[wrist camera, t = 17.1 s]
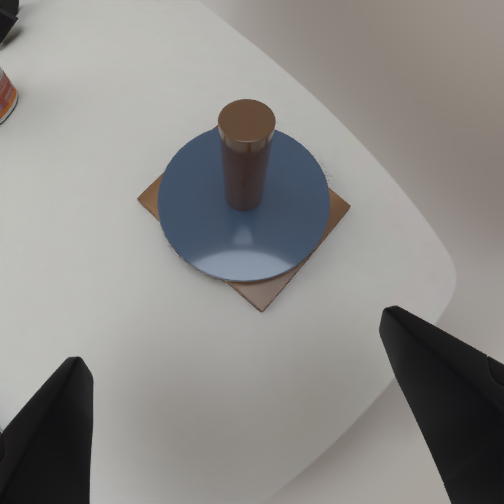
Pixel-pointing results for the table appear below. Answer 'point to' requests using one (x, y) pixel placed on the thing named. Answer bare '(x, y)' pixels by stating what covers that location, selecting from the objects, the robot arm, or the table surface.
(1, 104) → the pill bottle
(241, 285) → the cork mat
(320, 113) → the table surface
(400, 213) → the table surface
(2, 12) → the light fixture
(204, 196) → the lid
